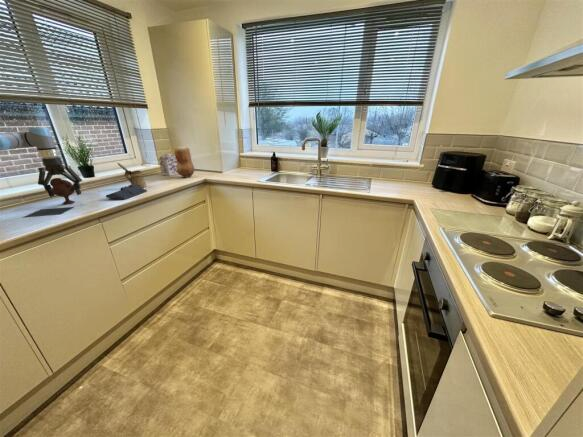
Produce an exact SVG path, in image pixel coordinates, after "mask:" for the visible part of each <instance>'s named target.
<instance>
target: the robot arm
mask: <svg viewBox="0 0 583 437" xmlns="http://www.w3.org/2000/svg"><path fill="white" fill-rule="evenodd" d="M20 148H36V151H37V152H38V155H39V158H41V162H42V164H43V166H40V167H38V179H37V185H39V186H43V188H44V190H45V192H47V194H48V196H49V198H52V197H55V196H56V195H55V194H53V193H52V192H51V191H50V190H49V189H51V188H52V186H51V184H50V181H51V180H52V179H53V176H63V177H64V178H66V179H68V181H70V182H71V183H73V184H72V185H74V188H75V191H74V192H75V193H76V196H80V195H82V191H81V188H82V187H81V184H80V183H81V182H83V179H82V178H81V177H80V176H79V175H78V174H77V173H76V172H75V171H74V170H73V169H72V167H71V165H65V166H64V165H63V161H62V159H61V157H60V154H59V151H58V149H57V146H56V144H55V140H54V137H53V135H52V133H51V131H50V129H49V128H48V127H47V126H38V127H37V126H36V127H29V128H28V131H6V132H0V151H7V150H14V149H20ZM46 172H47V173H46Z"/></svg>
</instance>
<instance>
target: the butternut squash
mask: <svg viewBox="0 0 583 437" xmlns="http://www.w3.org/2000/svg"><path fill="white" fill-rule="evenodd" d="M173 151H174V155H175V157H176V160H177V172H178V174H177V175H179V176H181V177H183V178H190V177H192V176H193V175H194V173H195V166H194V164H193V161H192V155H191V152H190V148H189V147H188V146H187V145H181V146H177V147H175V148H174V150H173Z"/></svg>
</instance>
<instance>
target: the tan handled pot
mask: <svg viewBox="0 0 583 437" xmlns="http://www.w3.org/2000/svg"><path fill="white" fill-rule="evenodd" d="M116 164H117V165H118V166H119V167H120V168H121V169H122V170H123V171H124V177H125V179H127V180H128V182H130V185H131V184H135V185H140V186H142V188H143V189H144V188H146V187H147V183H146V181H145V179H144V176H143V173H142V171H141V170H133V171H131V170H129V169H128V168H126V167H125V166H124V165H123V164H122V163H119V162H117V163H116Z"/></svg>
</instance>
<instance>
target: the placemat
mask: <svg viewBox="0 0 583 437" xmlns="http://www.w3.org/2000/svg"><path fill="white" fill-rule="evenodd" d="M73 208H75V206H65V207H54V208H53V207H52V208H41V209H39V210H36V211H33V212H32V213H30V214H27V215H25V216H23V217H22V219H23V218H36V217H49V216H60V215H63V214H64V213H66V212H68V211H70V210H72V209H73Z"/></svg>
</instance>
